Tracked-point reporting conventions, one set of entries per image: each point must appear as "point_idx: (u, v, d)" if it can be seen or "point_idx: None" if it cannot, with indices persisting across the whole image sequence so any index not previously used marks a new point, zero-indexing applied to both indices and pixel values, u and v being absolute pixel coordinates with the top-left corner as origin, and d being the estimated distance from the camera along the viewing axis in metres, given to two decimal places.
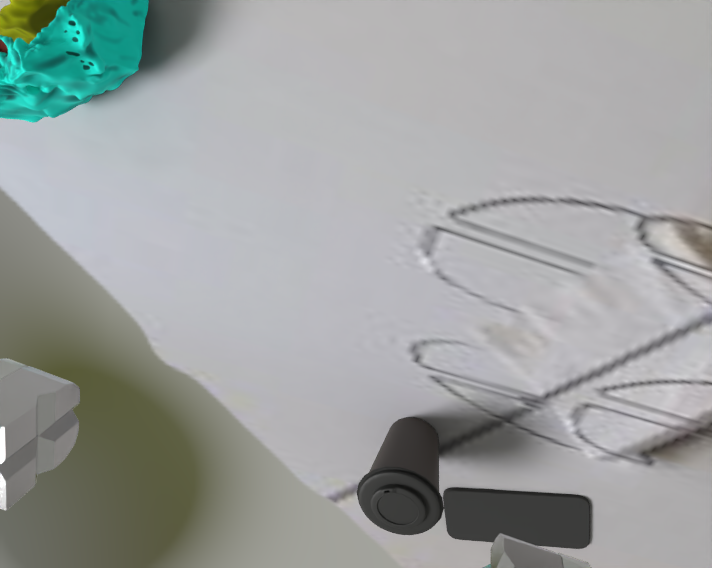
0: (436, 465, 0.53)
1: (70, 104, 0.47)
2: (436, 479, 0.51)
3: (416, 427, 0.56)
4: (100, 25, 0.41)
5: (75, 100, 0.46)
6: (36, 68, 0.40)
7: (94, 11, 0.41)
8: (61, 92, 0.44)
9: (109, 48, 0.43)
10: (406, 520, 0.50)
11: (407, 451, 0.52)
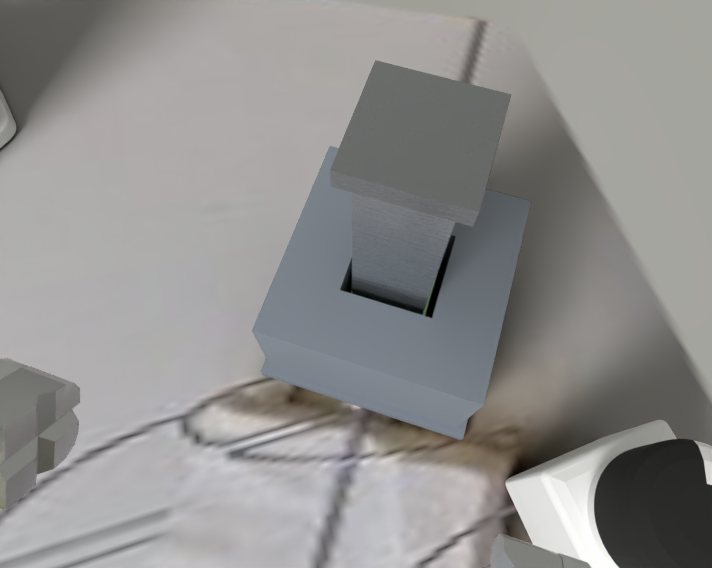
0: None
1: None
2: None
3: None
4: None
5: None
6: None
7: None
8: None
9: None
10: None
11: None
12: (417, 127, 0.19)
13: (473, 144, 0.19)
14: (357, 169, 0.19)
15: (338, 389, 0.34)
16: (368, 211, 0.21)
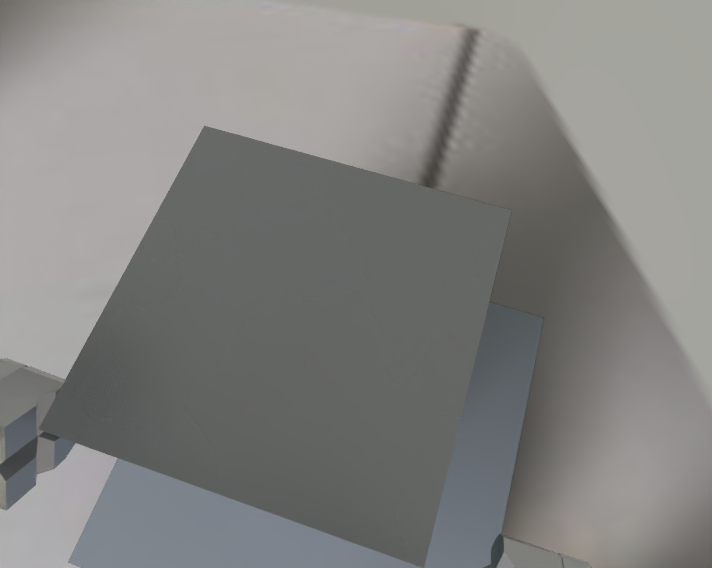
0: None
1: None
2: None
3: None
4: None
5: None
6: None
7: None
8: None
9: None
10: None
11: None
12: (281, 299, 0.08)
13: (417, 348, 0.08)
14: (111, 424, 0.07)
15: None
16: None
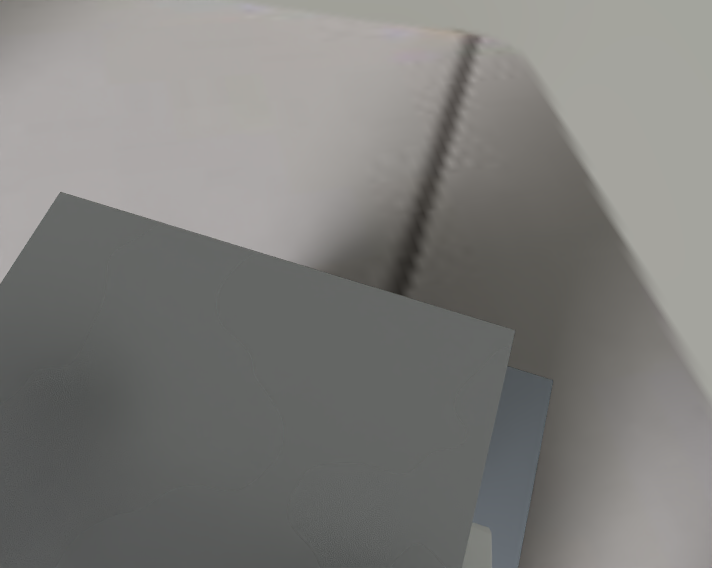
0: None
1: None
2: None
3: None
4: None
5: None
6: None
7: None
8: None
9: None
10: None
11: None
12: (144, 487, 0.05)
13: None
14: None
15: None
16: None
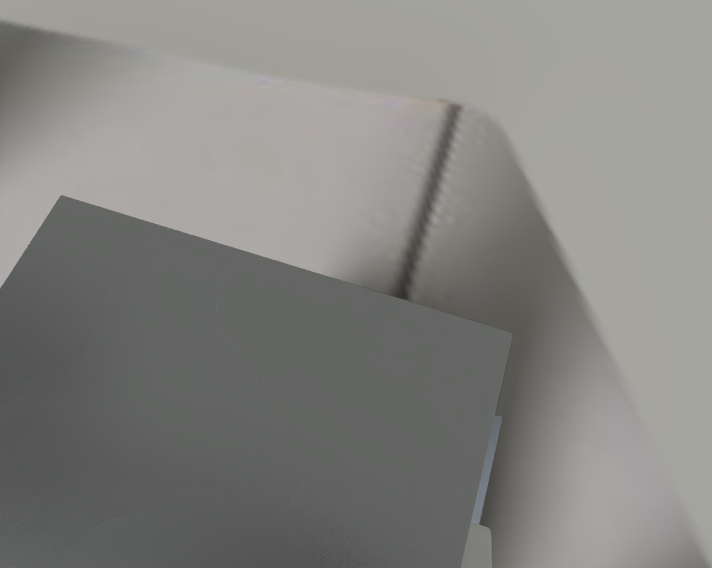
0: None
1: None
2: None
3: None
4: None
5: None
6: None
7: None
8: None
9: None
10: None
11: None
12: (144, 490, 0.05)
13: None
14: None
15: None
16: None
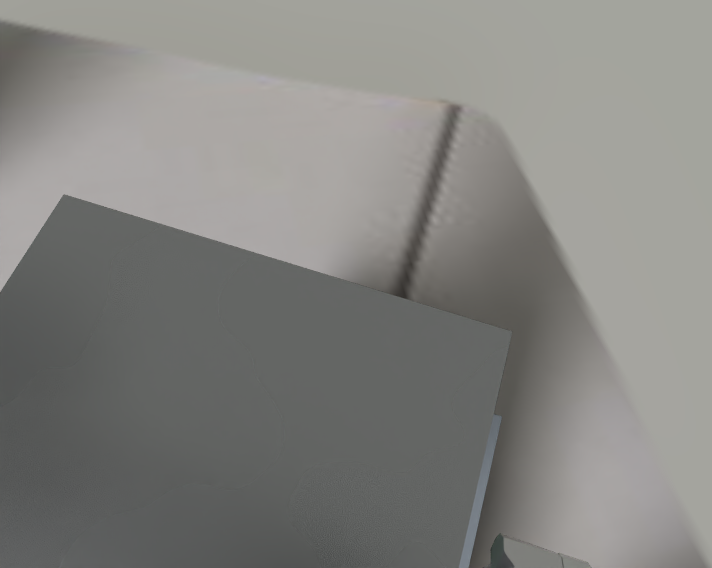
0: None
1: None
2: None
3: None
4: None
5: None
6: None
7: None
8: None
9: None
10: None
11: None
12: (146, 486, 0.05)
13: None
14: None
15: None
16: None
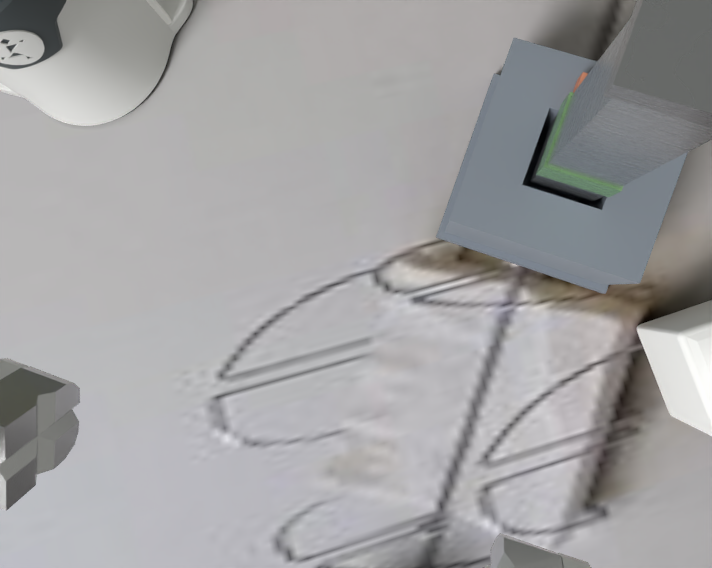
0: None
1: None
2: None
3: None
4: None
5: None
6: None
7: None
8: None
9: None
10: None
11: None
12: None
13: None
14: (644, 82, 0.17)
15: (501, 252, 0.41)
16: (624, 109, 0.20)
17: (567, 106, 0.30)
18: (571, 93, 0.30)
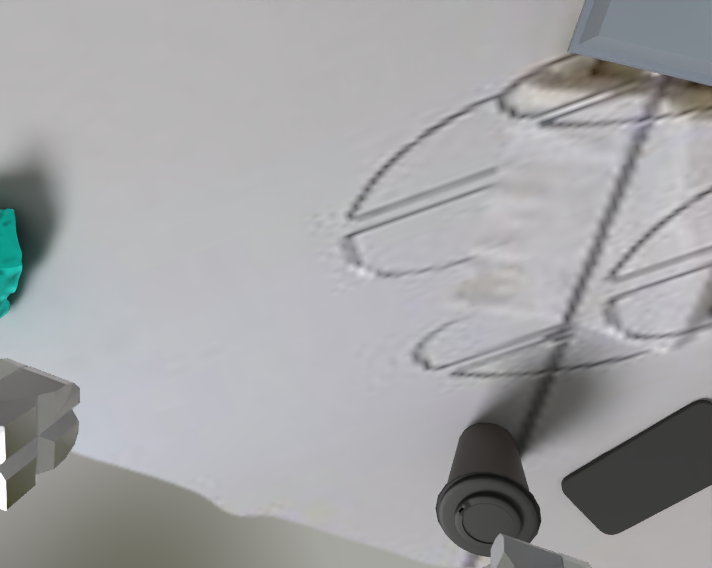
0: (508, 457, 0.46)
1: None
2: (511, 470, 0.44)
3: (474, 433, 0.49)
4: None
5: None
6: None
7: None
8: None
9: None
10: (505, 531, 0.42)
11: (467, 459, 0.45)
12: None
13: None
14: None
15: (643, 61, 0.38)
16: None
17: None
18: None
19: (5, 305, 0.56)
